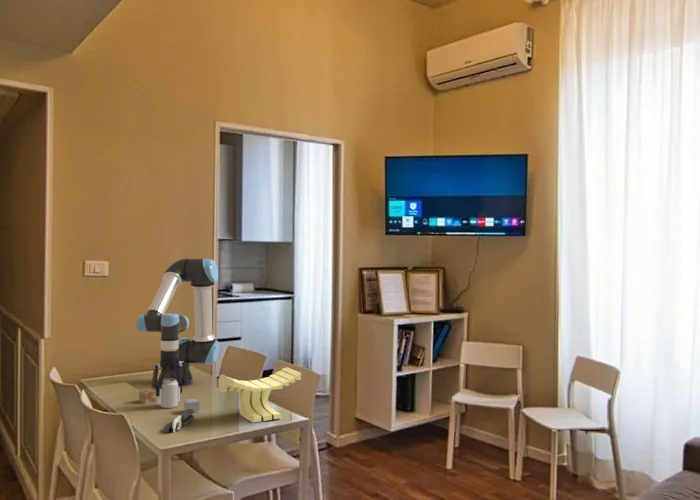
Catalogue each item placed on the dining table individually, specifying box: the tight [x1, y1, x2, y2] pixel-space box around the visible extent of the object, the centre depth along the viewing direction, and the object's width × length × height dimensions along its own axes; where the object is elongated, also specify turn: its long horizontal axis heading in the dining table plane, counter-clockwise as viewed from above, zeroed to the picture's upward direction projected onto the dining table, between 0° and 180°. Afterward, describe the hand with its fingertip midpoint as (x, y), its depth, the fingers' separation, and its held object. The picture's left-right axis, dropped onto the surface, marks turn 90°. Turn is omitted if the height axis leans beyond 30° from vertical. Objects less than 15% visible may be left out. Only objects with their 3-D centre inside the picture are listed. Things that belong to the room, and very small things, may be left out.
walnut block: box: [138, 389, 157, 404], centre depth 268 cm, size 5×5×5 cm
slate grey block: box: [183, 398, 200, 414], centre depth 254 cm, size 5×5×5 cm
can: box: [159, 378, 179, 409], centre depth 261 cm, size 8×8×12 cm
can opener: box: [163, 409, 195, 434], centre depth 235 cm, size 19×6×5 cm, turn 171°
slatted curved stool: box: [218, 366, 302, 423], centre depth 251 cm, size 30×16×18 cm, turn 123°
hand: (168, 402), depth 261 cm, fingers closed on can, 7 cm apart
